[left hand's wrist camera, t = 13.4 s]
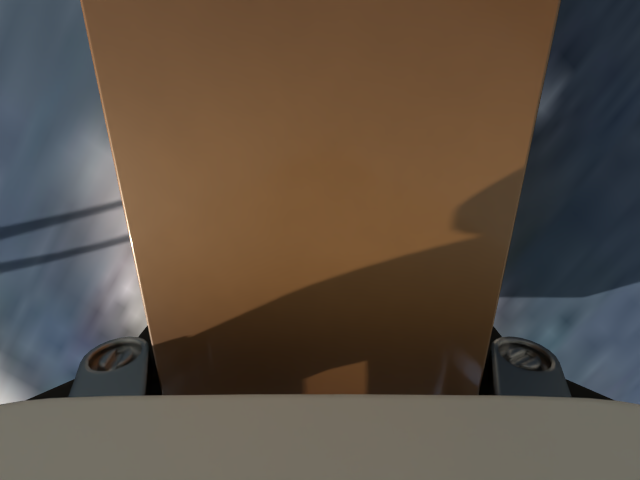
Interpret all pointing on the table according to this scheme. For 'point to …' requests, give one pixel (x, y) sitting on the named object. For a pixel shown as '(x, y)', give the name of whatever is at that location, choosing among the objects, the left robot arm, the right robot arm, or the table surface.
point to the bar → (320, 183)
